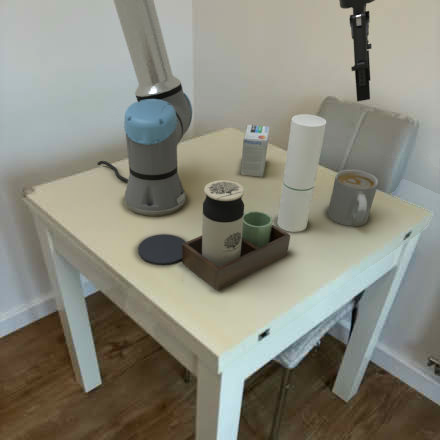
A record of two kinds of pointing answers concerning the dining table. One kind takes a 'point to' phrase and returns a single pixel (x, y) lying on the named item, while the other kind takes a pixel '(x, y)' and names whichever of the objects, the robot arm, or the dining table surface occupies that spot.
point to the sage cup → (257, 228)
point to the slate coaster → (161, 249)
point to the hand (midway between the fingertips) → (364, 90)
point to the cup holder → (238, 268)
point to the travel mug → (222, 222)
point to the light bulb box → (254, 150)
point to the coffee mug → (352, 197)
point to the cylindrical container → (300, 171)
